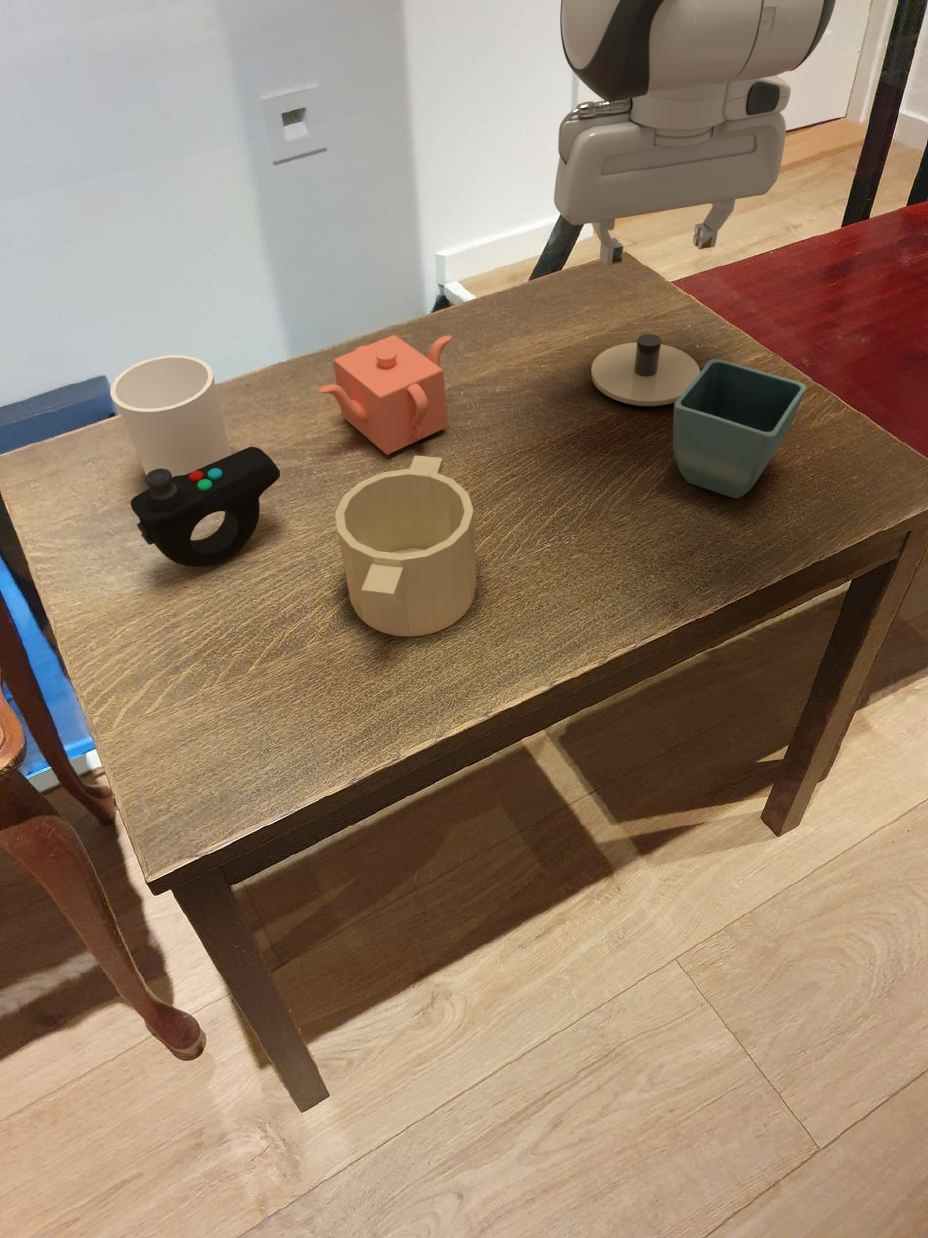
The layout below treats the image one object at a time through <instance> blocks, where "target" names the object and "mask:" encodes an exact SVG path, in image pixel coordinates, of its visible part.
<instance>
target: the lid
mask: <svg viewBox="0 0 928 1238" xmlns="http://www.w3.org/2000/svg"><path fill="white" fill-rule="evenodd" d="M699 366H700V365H698V363H697V362H696V361H695V359H694V358H692V356H690V355H689V354H688V353H687V352H684V351H683V350H680V349H679V348H676V347H674V346H670V345H668V344H662V338H661V337H660V336H658V335H657V334H653V333H644V334H641V335H639V336H638V337H637V339H636V341H635V342H627V343H621V344H618V345H617V344H616V345H614V346H612V347H609V348H607V349H605V350H604V351H602V352H601V353H599V354H598V355H597V356H596V357H595V358H594V360H593V362H592V363H591V369H590V378H591V381H592V383H593V385H594V386H595V387H596V388H597V389H598V391H600V392H601V393H602V394H603V395H605V396H606V397H608V398H610V399H612V400H615V401H618V402H620V403H624V404H627V405H633V406H639V407H658V406H666V405H670V404H675V402H676V401H677V400H678V399H679V397H680V396H681V395H682V394H683V393H684V391H685V390H686V389H687V388H688V387H689V385H690V384H691V383H692V382H693V381H694V380H695V378H696V377H697V376H698V375H699V373H700V372H701V369H700V367H699Z"/></svg>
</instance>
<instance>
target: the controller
mask: <svg viewBox="0 0 928 1238" xmlns="http://www.w3.org/2000/svg"><path fill="white" fill-rule="evenodd" d="M231 454H232V455H230V456H228V457H225V458H223V459H221V460H218V461H216V462H214V463H212V464H209V465H207V466H205V467H202V468H200V469H198V470H195V471H193V472H191V473H188V474H186V475H179V476H175V477H173V478H172V474H171V472H170V471H169V470H166V469H155V470H152V471H151V472H149V473H148V474H147V475H146V474H145V477H144V482H145V485H147V486H148V489H146V490H144V491H142V492H139V494H137V495H135V496H134V497H133V498H132V499H131V500H130V507H131V510H132V512H133V513H134V514H135V515H136V516H137V518H138V521H139V522H138V523H136V527H137V528H138V530H139V531H140V534H141V537H142V538H143V540H144V541H145V542H146V544H148V545H149V546H151V545H154V546H155V547H156V548H157V549H158V550H159V552H160V553H162V554H163V556H164V557H165V558H167V559H169V560H170V561H172V562H173V563H175V564H177V565H181V566H184V567H188V568H206V567H210V566H214V565H218V564H220V563H223V562H224V561H226V560H228V559H230V558H232V557H233V556H235V555H236V554H237V553H238V552H239V551H241V550H242V549H243V548H244V547H245V545H247V543H248V542H249V541H250V539H252V537H253V534H254V533H255V531H256V529H257V526H258V523H259V520H260V514H261V513H260V510H261V507H260V497H261V496H262V494H263V493H264V492H265V491H266V490H268V489H269V488H270V487H271V486H272V485H274V484H275V483H276V482H277V481H278V480H279V479H280V477H281V470H280V468H279V467H278V466H277V464H276V463H275V461H273V459H272V458H271V457H270V456H269V455H268V454H267V453H266V452H265V451H264V450H262V449H261V448H259V447H258V446H257V447H256V446H249V447H247V448H244V449H242V450H239V451H237V452H235V453H231ZM149 487H150V488H149ZM219 512H224V517H223V520H222V522H221V524H220V526H219V527H218V528H217V530H215V531H214V532H213V533H212V534H211V535H209V536H207V537H205V538H202V539H192V535H193V532H194V530H195V528H196V526H198V524H199V523H200V522H201V521H202V520H203V519H206V517H208V516H210V515H212V514H214V513H219Z"/></svg>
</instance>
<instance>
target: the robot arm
mask: <svg viewBox="0 0 928 1238" xmlns="http://www.w3.org/2000/svg"><path fill="white" fill-rule="evenodd" d="M836 1H837V0H560V13H559V17H560V18H559V21H560V22H559V25H560V39H561V45H562V50H563V55H564V58H565V59H566V63H567V65H568V66H569V67H570V69H571V71H572V72H573V73H574V74H575V75H576V77H577V78H578V79H579V80H580V81H581V82H582V83H583V84H584V85H585V86H586V87H587V88H589V90H591V92H593V93H594V94H595V95H596V96H598V97H599V98H601V99H602V100H601V101H600V100H599V101H595V102H594V101H584V102H580V103H578V104H577V105H576V107H575V109H573V110H571V111H570V112H568V113H567V114H566V115H565V117H563V119H562V120H561V122H560V124H559V128H558V140H557V141H558V142H557V150H558V156H559V158H558V163H557V170H556V175H555V183H554V191H553V204H554V207H555V208H556V210H557V211H558V212H559V214H560V215H561V217H563V219H565V220H566V221H567V222H568V223H569V224H571V225H572V226H581V225H588V224H591V226H592V228H593V230H594V232H595V234H596V236H597V238H598V241H600V248H599V249H600V250H599V259H600V261H601V263H602V264H603V265H604V266H605V267H608V266H613V265H618V264H622V261H623V257H622V255H623V253H624V252H623V251H624V245H623V244H622V243H621V242H620V241H619V239H618V238H616V237H613V238H612V237H611V235H610V233H609V231H614V230H615V226H616V225H615V224H616V220H617V219H624V218H629V217H637V216H642V215H647V214H654V213H660V212H665V211H673V210H678V209H684V208H690V207H697V206H702V205H703V206H704V205H708V204H711V205H712V206H711V208H710V210H709V212H708V213H707V215H706V217H705V219H704V220H703V222H701V223H696V224H695V225H694V230H693V232H694V234H693V237H692V243H693V245H694V246H695V247H696V248H697V250H705V249H709V248H715V246H716V244H717V239H718V235H719V234H718V233H719V230H720V229H721V228H723V225H724V224H725V222H727V220H728V218H729V217H730V216H731V214H732V213H733V211H734V208H735V202H736V200H739V199H746V198H752V197H757V196H763V195H766V194H767V193H768V192H769V191H770V190H771V189H772V188H773V186H774V185H775V184H776V182H777V180H778V178H779V174H780V170H781V166H782V160H783V155H784V149H785V143H786V142H785V141H786V135H787V134H786V133H787V123H786V119H785V116H784V115H783V114H782V113H781V112H783V111H785V109H786V107H787V106H788V104H789V101H790V98H791V97H790V96H791V85H790V84H789V83H787V81H785V80H784V79H782V78H781V77H779V75H781V74H783V73H786V72H792V71H795V70H797V69H798V68H799V67H800V66H801V65H802V64H803V63H804V62H805V61H806V60H807V59H808V58H809V57H810V56H811V54H812V53H813V52H814V51H815V50H816V48H817V46H818V45H819V43H820V41H821V40H822V38H823V36H824V34H825V32H826V31H827V28H828V26H829V24H830V21H831V18H832V15H833V12H834V10H835V5H836Z"/></svg>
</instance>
